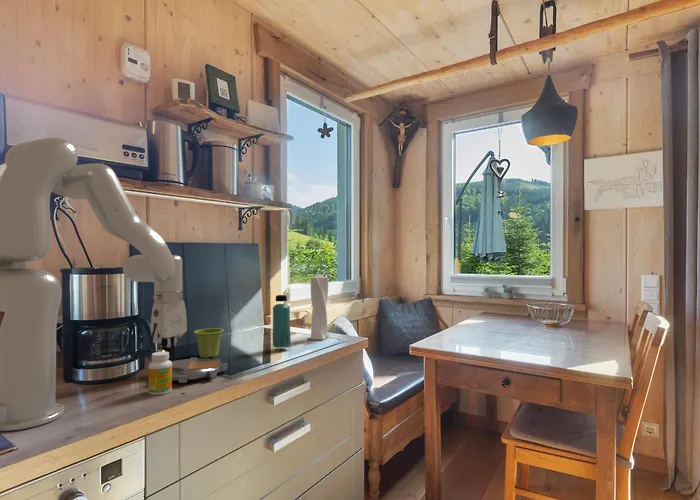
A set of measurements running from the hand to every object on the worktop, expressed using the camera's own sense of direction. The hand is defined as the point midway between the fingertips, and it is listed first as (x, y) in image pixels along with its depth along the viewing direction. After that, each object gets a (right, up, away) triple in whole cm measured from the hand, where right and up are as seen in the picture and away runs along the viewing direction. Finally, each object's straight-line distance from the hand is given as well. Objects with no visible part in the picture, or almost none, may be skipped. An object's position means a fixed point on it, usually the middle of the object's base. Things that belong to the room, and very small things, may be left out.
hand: (168, 360), depth 119 cm
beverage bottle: (+28, -5, +30) cm, 41 cm away
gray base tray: (+7, -4, -2) cm, 8 cm away
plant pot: (+5, -4, +21) cm, 22 cm away
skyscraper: (+40, -5, +50) cm, 64 cm away
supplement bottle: (+5, -4, -16) cm, 17 cm away
